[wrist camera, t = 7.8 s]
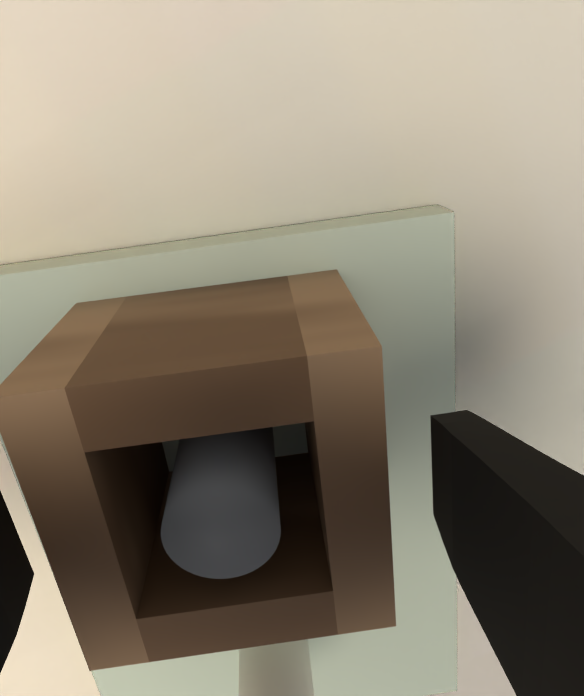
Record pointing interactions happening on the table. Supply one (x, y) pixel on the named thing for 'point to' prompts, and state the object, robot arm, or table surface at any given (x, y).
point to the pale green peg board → (290, 444)
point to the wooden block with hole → (196, 421)
